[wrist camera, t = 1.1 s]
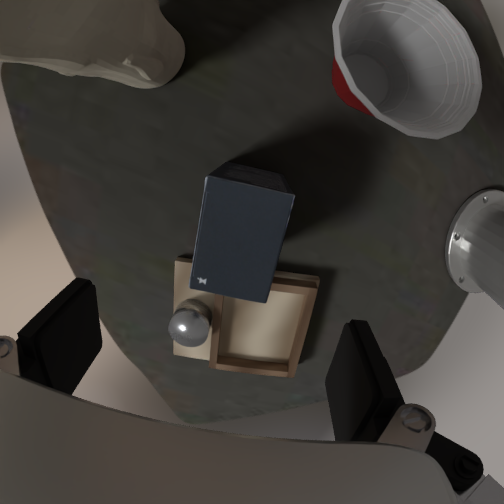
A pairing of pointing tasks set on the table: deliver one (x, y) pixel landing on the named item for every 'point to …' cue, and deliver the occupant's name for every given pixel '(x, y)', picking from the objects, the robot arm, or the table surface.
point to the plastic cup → (406, 65)
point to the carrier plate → (243, 324)
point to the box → (240, 232)
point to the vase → (93, 39)
